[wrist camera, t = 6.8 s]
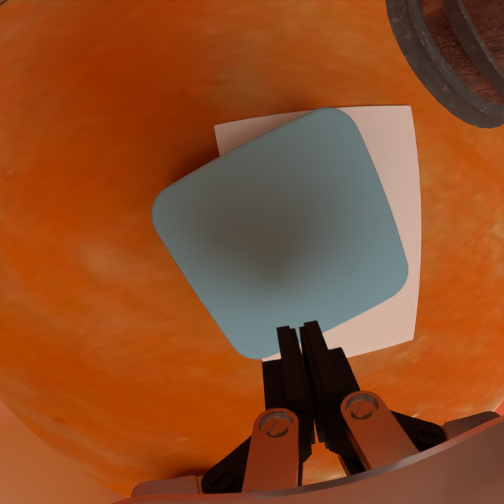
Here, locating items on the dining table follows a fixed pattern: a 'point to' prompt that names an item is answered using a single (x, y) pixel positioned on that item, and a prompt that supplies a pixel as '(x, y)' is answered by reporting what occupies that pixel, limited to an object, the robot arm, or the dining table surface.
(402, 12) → the tankard
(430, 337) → the dining table surface
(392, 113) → the mat
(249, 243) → the data package
